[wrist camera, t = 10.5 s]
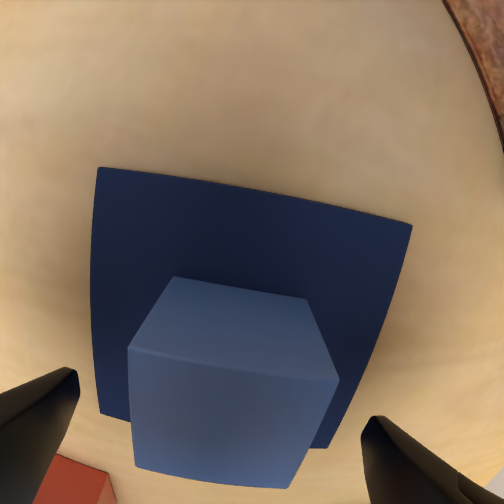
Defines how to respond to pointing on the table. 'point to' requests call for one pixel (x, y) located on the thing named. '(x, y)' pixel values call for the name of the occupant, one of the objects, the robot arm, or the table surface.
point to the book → (484, 46)
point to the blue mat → (236, 267)
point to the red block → (74, 484)
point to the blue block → (227, 385)
